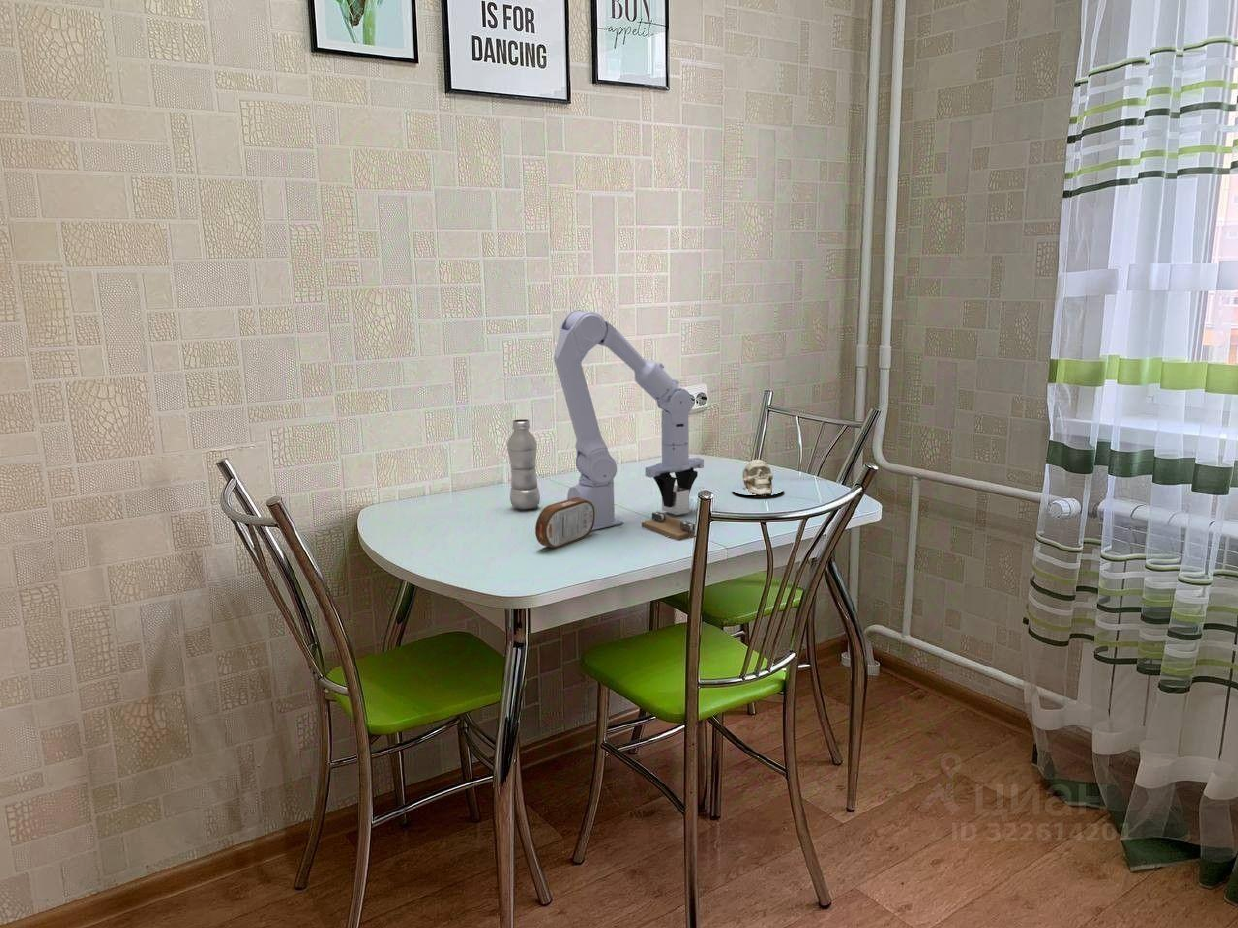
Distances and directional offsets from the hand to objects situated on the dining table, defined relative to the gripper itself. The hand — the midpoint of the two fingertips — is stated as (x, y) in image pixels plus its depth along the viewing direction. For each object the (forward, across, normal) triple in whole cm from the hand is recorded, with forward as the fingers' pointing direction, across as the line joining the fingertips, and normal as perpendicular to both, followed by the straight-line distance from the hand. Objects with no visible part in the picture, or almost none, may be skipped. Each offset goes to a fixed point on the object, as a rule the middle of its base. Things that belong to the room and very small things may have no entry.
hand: (675, 504), depth 198 cm
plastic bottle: (+2, -23, +25) cm, 34 cm away
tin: (+2, -29, -2) cm, 29 cm away
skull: (+2, +26, +2) cm, 26 cm away
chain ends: (+2, -8, -9) cm, 12 cm away
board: (+2, -8, -9) cm, 12 cm away
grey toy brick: (+1, 0, 0) cm, 1 cm away
